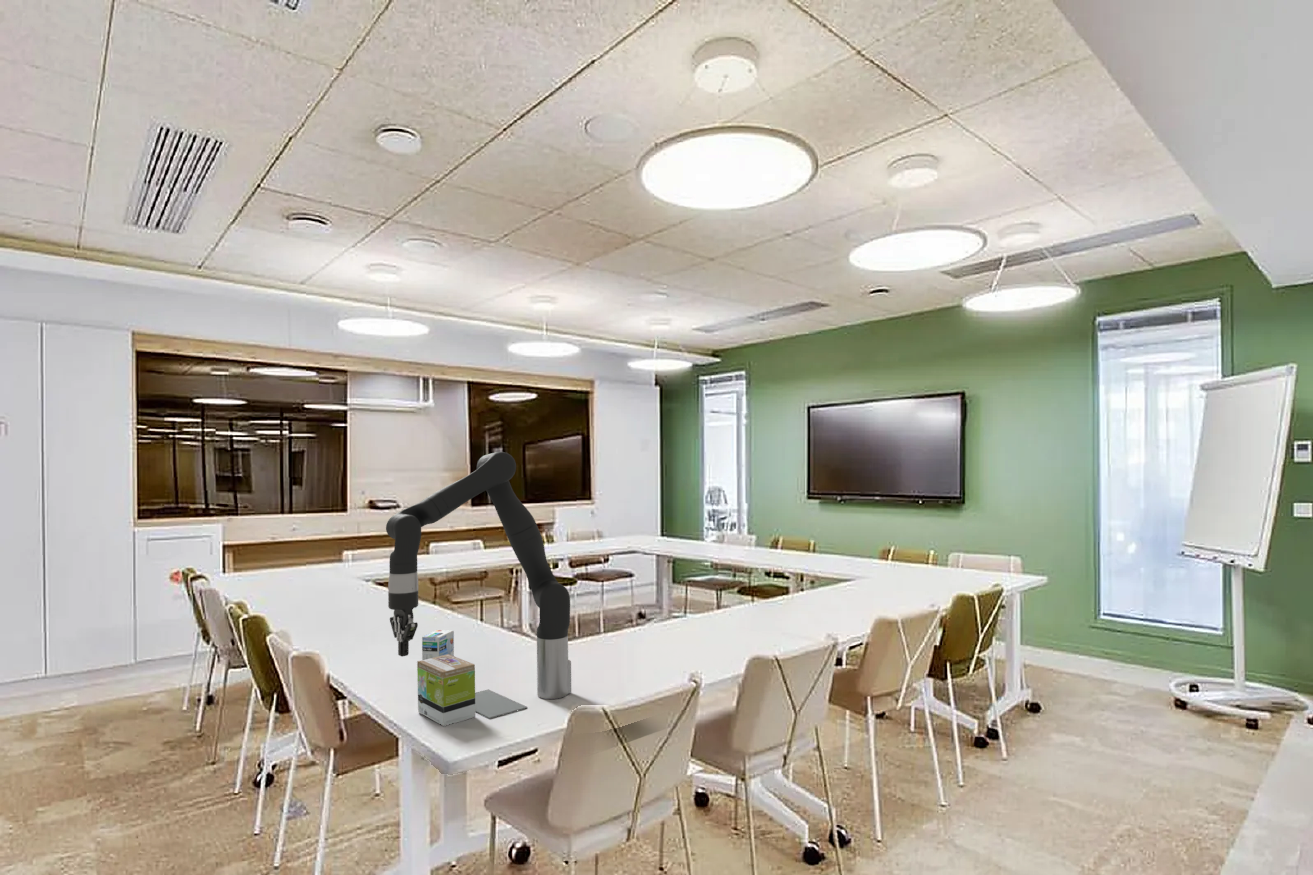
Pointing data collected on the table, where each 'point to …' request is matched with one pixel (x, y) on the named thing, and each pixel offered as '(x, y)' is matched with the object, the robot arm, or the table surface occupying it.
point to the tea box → (446, 689)
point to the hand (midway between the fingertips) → (403, 655)
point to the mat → (494, 704)
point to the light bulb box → (438, 644)
